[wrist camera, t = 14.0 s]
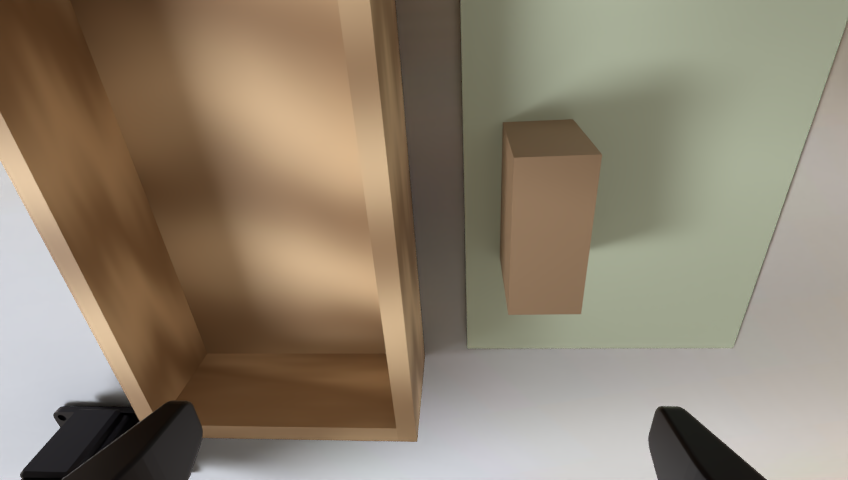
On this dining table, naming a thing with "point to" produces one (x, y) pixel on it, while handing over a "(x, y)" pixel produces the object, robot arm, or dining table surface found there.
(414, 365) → the tan wooden box
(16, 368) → the dining table surface
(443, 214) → the dining table surface
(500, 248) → the lid
